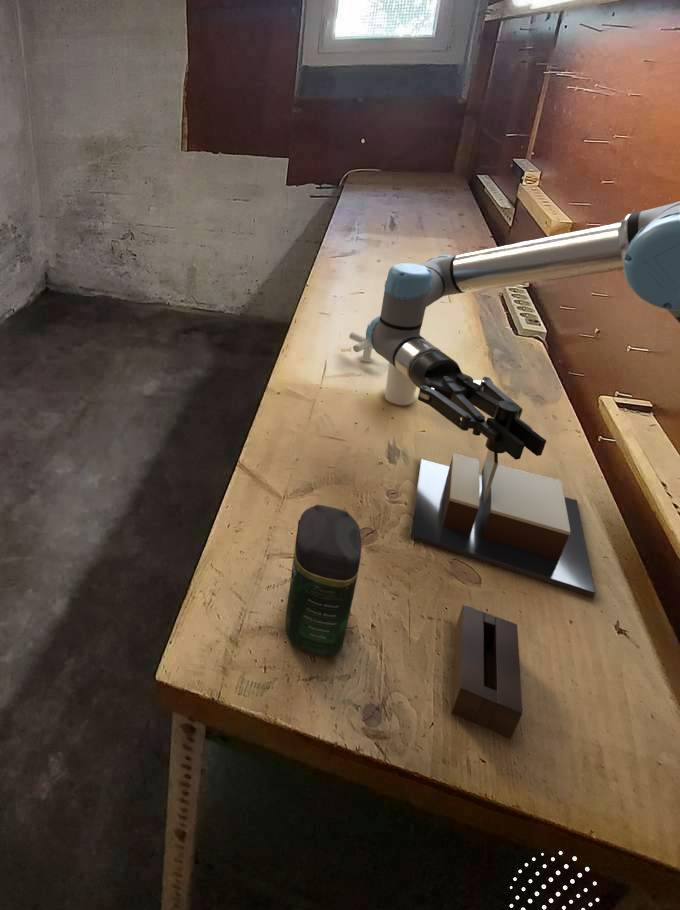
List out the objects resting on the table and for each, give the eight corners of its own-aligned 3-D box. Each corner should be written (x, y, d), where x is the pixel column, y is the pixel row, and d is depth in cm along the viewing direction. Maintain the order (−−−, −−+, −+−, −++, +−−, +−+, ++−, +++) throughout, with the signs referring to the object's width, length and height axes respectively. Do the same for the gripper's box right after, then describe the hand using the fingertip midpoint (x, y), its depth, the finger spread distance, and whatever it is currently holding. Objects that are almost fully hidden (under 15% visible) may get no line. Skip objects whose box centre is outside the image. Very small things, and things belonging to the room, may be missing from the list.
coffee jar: (344, 667, 72) (365, 566, 64) (281, 649, 75) (293, 550, 66) (345, 602, 80) (364, 506, 72) (289, 588, 83) (300, 493, 74)
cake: (550, 508, 93) (561, 480, 91) (558, 561, 84) (570, 532, 81) (482, 489, 98) (490, 462, 95) (482, 537, 88) (491, 509, 86)
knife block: (455, 629, 76) (463, 604, 74) (507, 648, 73) (517, 623, 71) (451, 713, 67) (460, 687, 65) (511, 739, 64) (522, 713, 62)
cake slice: (471, 486, 98) (479, 459, 96) (470, 534, 89) (479, 506, 86) (446, 479, 100) (453, 452, 98) (442, 525, 91) (450, 497, 88)
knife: (473, 468, 95) (497, 389, 88) (493, 473, 94) (518, 394, 87) (473, 499, 89) (498, 417, 82) (493, 505, 87) (521, 422, 80)
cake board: (575, 504, 95) (576, 500, 95) (593, 597, 80) (595, 593, 79) (420, 462, 106) (421, 458, 105) (409, 538, 90) (410, 533, 90)
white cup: (380, 388, 128) (387, 350, 124) (411, 391, 127) (419, 352, 123) (385, 405, 123) (392, 366, 118) (418, 407, 121) (427, 368, 117)
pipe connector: (396, 362, 138) (403, 326, 134) (371, 375, 133) (377, 338, 129) (361, 346, 146) (366, 312, 141) (336, 358, 141) (341, 323, 137)
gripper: (462, 379, 105) (570, 462, 84) (384, 390, 102) (476, 478, 81) (471, 344, 101) (586, 421, 80) (391, 355, 99) (488, 437, 78)
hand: (530, 449), depth 81 cm, fingers closed on knife, 3 cm apart
